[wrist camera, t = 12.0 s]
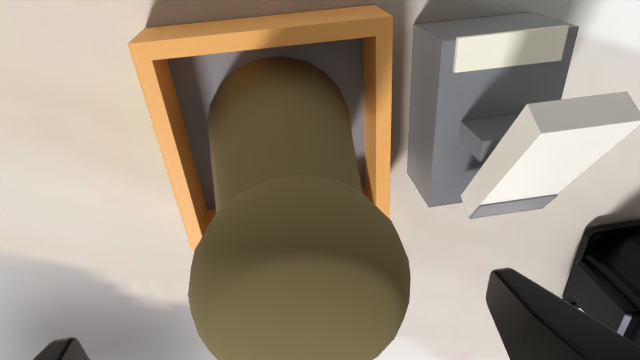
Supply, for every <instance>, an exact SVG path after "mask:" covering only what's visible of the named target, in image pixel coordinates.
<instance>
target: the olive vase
mask: <svg viewBox="0 0 640 360" xmlns="http://www.w3.org/2000/svg"><path fill="white" fill-rule="evenodd" d="M207 126H208V136H209V146H210V155H211V165H212V175H213V185H214V194H215V204H216V215H215V216H214V218H213V219H212V221H211V223H210V224H209V226H208V228H207V230H206V231H205V233H204V235H203V236H202V238H201V240H200V242H199V243H198V245H197V247H196V249H195V251H194V256H193V261H192V266H191V274H190V283H189V291H188V296H189V303H190V309H191V314H192V316H193V319H194V322H195V325H196V328H197V331H198V334H199V336H200V338H201V339H202V341H203V342H204V343H205V345H206V347H207V348H208V350H209V351H210V352H211V353H212V354H213V355H214V356H215V357H216V358H217V359H218V360H373V359H375V358H376V357H377V356H379V354H380V353H381V352H382V351H383V350H384V349H385V348H386V347H387V346H388V345H389V344H390V343H391V342H392V340H394V338H395V336H396V334H397V332H398V330H399V328H400V326H401V324H402V322H403V319H404V317H405V314H406V311H407V307H408V304H409V297H410V269H409V261H408V258H407V255H406V253H405V250H404V248H403V245H402V243H401V240H400V238H399V235H398V233H397V231H396V229H395V227H394V225H393V223H392V222H391V220H390V219H389V218H388V217H387V216H386V215H385V214H384V213H383V212H382V211H381V210H380V209H379V208H378V207H377V206H376V205H375V204H374V203H373V202H372V201H371V200H370V199H369V198H368V197H367V196H365V195H364V194H363V193H362V189H361V183H360V177H359V171H358V166H357V160H356V154H355V148H354V143H353V137H352V131H351V125H350V119H349V114H348V108H347V106H346V103H345V101H344V98H343V96H342V93H341V91H340V88H339V87H338V86H337V85H336V84H335V83H334V82H333V80H332V79H331V78H330V77H329V76H328V75H327V74H326V72H324V71H322V70H321V69H319V68H317V67H315V66H314V65H312V64H310V63H308V62H307V61H304V60H299V59H294V58H290V57H285V56H278V57H269V58H260V59H256V60H254V61H252V62H250V63H248V64H246V65H244V66H241V67H239V68H237V69H236V70H235V71H234V72H233V73H232V74H230V75H229V76H228V77H227V78H226V79H225V80H224V81H223V82H222V83H221V84H220V85H219V87H218V89H217V91H216V93H215V95H214V97H213V99H212V101H211V103H210V108H209V116H208V125H207Z"/></svg>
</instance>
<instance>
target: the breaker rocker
mask: <svg viewBox="0 0 640 360" xmlns="http://www.w3.org/2000/svg"><path fill="white" fill-rule="evenodd" d="M638 125H640V111H639V110H638V108H637V107H636V105H635V103H634V102H633V100H632V99H631V97H630V95H629V94H628V92H619V93H611V94H603V95H595V96H587V97H579V98H571V99H563V100H555V101H547V102H539V103H531V104H527V105H526V106H525V107H524V109H523V110H522V112H521V113H520V114H519V116H518V117H517V119H516V120H515V121H514V123H513V124H512V125H511V127H510V128H509V130H508V131H507V132H506V134H505V135H504V137H503V138H502V139H501V141H500V142H499V143H498V145H497V146H496V148H495V149H494V150H493V152H492V153H491V155H490V156H489V157H488V159H487V160H486V161H485V163H484V164H483V166H482V167H481V168H480V170H479V171H478V173H477V174H476V175H475V177H474V178H473V179H472V181H471V182H470V184H469V185H468V186H467V188H466V189H465V191H464V192H463V193H462V195H461V198H462V201H463V204H464V207H465V210H466V213H467V216H468V218H470V219H474V218H481V217H488V216H494V215H501V214H508V213H515V212H522V211H529V210H536V209H542V208H543V207H545V206H546V205H547V204H548V203H549V202H551V201H552V200H553V199H554V198H555V197H557V193H559V192H560V191H561V190H562V189H563V188H565V187H566V186H567V185H568V184H569V183H571V182H572V181H573V180H574V179H575V178H576V177H578V176H579V175H580V174H581V173H582V172H584V171H585V170H586V169H587V168H588V167H590V166H591V165H592V164H593V163H594V162H596V161H597V160H598V159H599V158H600V157H601V156H603V155H604V154H605V153H606V152H607V151H609V150H610V149H611V148H612V147H613V146H615V145H616V144H617V143H618V142H619V141H621V140H622V139H623V138H624V137H625V136H626V135H628V134H629V133H630V132H631V131H632V130H634V129H635V128H636V127H637V126H638Z"/></svg>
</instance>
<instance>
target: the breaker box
mask: <svg viewBox="0 0 640 360" xmlns="http://www.w3.org/2000/svg"><path fill="white" fill-rule="evenodd" d="M578 28H579V27H578V26H575V25H572V24H569V23H565V22H562V21H559V20H555V19H552V18H549V17H546V16H542V15H539V14H536V13H532V12H526V13H517V14H507V15H498V16H488V17H479V18H470V19H460V20H451V21H441V22H432V23H423V24H414V27H413V50H412V73H411V95H410V118H409V140H408V163H407V173H408V175H409V177H410V178H411V180H412V181H413V183H414V184H415V186H416V188H417V189H418V191H419V192H420V194H421V196H422V197H423V199H424V200H425V202H426V204H427V205H428V207H434V206H441V205H448V204H455V203H462V202H463V201H462V198H461V195H462V193H463V192H464V191H465V189H466V188H467V186H468V185H469V184H470V182H471V181H472V179H473V178H474V177H475V175H476V174H477V173H478V171H479V170H480V168H481V167H482V166H483V164H484V163H485V161H486V160H487V159H488V157H489V156H490V155H491V153H492V152H493V150H494V149H495V148H496V146H497V145H498V143H499V142H500V141H501V139H502V138H503V137H504V135H505V134H506V132H507V131H508V130H509V128H510V127H511V125H512V124H513V123H514V121H515V120H516V119H517V117H518V116H519V114H520V113H521V112H522V110H523V109H524V107H525V106H526V105H527V104H531V103H539V102H547V101H555V100H561V97H562V93H563V89H564V85H565V81H566V77H567V73H568V69H569V65H570V60H571V56H572V52H573V48H574V44H575V40H576V36H577V32H578Z"/></svg>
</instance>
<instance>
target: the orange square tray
mask: <svg viewBox="0 0 640 360" xmlns="http://www.w3.org/2000/svg"><path fill="white" fill-rule="evenodd" d="M128 47H129V50H130V53H131V56H132V59H133V63H134V66H135V69H136V72H137V76H138V79H139V82H140V85H141V89H142V92H143V95H144V98H145V102H146V105H147V108H148V111H149V115H150V118H151V121H152V124H153V127H154V131H155V134H156V137H157V140H158V144H159V147H160V150H161V153H162V157H163V160H164V163H165V166H166V170H167V173H168V176H169V179H170V183H171V186H172V189H173V192H174V196H175V199H176V202H177V205H178V208H179V212H180V215H181V218H182V221H183V225H184V228H185V231H186V234H187V238H188V241H189V244H190V247H191V251H192V250H195V249H196V247H197V245H198V243H199V242H200V240H201V238H202V236H203V235H204V233H205V231H206V230H207V228H208V226H209V224H210V223H211V221H212V219H213V218H214V216H215V215H216V204H215V194H214V185H213V175H212V165H211V155H210V146H209V136H208V126H207V125H208V116H209V108H210V103H211V101H212V99H213V97H214V95H215V93H216V91H217V89H218V87H219V85H220V84H221V83H222V82H223V81H224V80H225V79H226V78H227V77H228V76H229V75H230V74H232V73H233V72H234V71H235V70H236V69H237V68H239V67H241V66H244V65H246V64H248V63H250V62H252V61H254V60H256V59H260V58H269V57H278V56H285V57H290V58H294V59H299V60H304V61H307V62H308V63H310V64H312V65H314V66H315V67H317V68H319V69H321V70H322V71H324V72H326V74H327V75H328V76H329V77H330V78H331V79H332V80H333V82H334V83H335V84H336V85H337V86H338V87H339V88H340V91H341V93H342V96H343V98H344V101H345V103H346V106H347V108H348V114H349V119H350V125H351V131H352V137H353V143H354V148H355V154H356V160H357V166H358V171H359V177H360V183H361V189H362V193H363V194H364V195H365V196H367V197H368V198H369V199H370V200H371V201H372V202H373V203H374V204H375V205H376V206H377V207H378V208H379V209H380V210H381V211H382V212H383V213H384V214H385V215H386V216H387V217H388V218H389V206H390V154H391V103H392V51H393V16H392V15H391V14H389V13H387V12H386V11H384V10H383V9H381V8H379V7H378V6H376V5H366V6H356V7H347V8H337V9H327V10H317V11H307V12H297V13H288V14H278V15H268V16H258V17H248V18H238V19H229V20H219V21H209V22H199V23H189V24H179V25H170V26H160V27H150V28H144V29H143V30H142V31H141V32H140V33H139V34H138V35H137V36H136V37H135V38H133V39H132V40H131V41H130V42H129V43H128Z"/></svg>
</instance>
